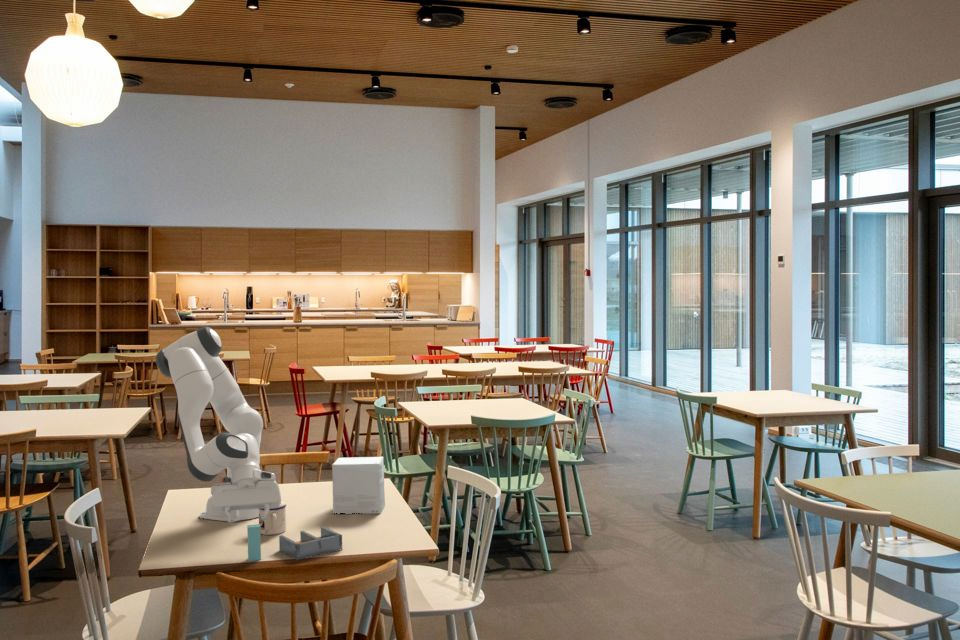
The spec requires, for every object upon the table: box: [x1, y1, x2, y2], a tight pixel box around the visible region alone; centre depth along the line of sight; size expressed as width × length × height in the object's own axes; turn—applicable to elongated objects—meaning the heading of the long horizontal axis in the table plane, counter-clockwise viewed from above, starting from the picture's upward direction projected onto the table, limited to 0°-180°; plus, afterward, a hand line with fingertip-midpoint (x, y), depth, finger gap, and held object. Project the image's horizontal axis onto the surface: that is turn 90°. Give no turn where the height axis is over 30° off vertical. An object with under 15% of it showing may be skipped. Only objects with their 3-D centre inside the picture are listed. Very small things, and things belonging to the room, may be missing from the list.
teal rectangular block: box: [246, 523, 262, 562], centre depth 241 cm, size 2×4×10 cm
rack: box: [278, 526, 343, 561], centre depth 249 cm, size 12×15×4 cm
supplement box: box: [331, 456, 386, 515], centre depth 295 cm, size 17×13×18 cm
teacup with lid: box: [258, 500, 287, 536], centre depth 268 cm, size 12×9×12 cm
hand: (247, 520), depth 244 cm, fingers open, 8 cm apart
